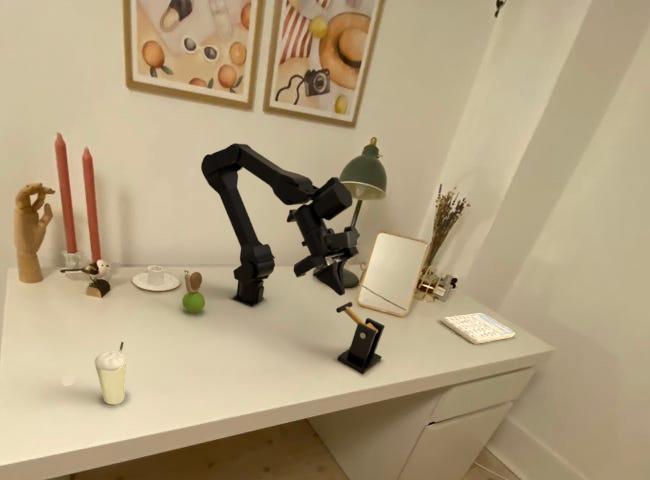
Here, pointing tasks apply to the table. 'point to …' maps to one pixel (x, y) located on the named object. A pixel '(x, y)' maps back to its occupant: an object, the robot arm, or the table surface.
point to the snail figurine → (193, 293)
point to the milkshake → (112, 375)
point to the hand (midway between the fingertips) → (342, 294)
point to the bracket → (363, 347)
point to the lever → (353, 314)
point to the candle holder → (156, 279)
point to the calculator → (478, 328)
